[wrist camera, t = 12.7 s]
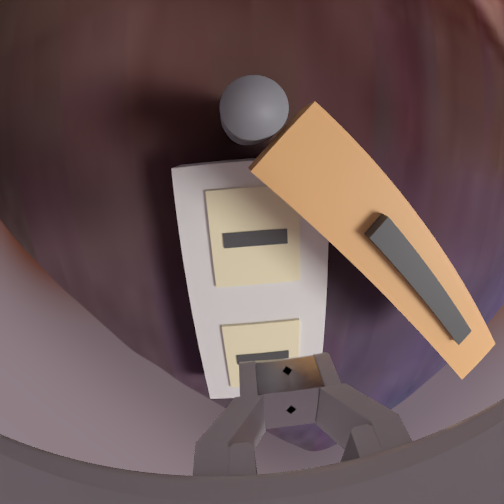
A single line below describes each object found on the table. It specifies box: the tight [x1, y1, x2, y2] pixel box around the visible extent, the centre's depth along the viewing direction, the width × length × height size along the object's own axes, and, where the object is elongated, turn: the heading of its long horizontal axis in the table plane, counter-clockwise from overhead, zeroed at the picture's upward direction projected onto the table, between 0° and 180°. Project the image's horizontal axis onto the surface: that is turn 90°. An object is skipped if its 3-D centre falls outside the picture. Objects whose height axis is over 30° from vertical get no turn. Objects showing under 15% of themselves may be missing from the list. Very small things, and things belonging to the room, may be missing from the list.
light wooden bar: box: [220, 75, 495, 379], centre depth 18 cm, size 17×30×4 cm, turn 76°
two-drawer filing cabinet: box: [171, 114, 328, 399], centre depth 25 cm, size 29×12×8 cm, turn 4°
